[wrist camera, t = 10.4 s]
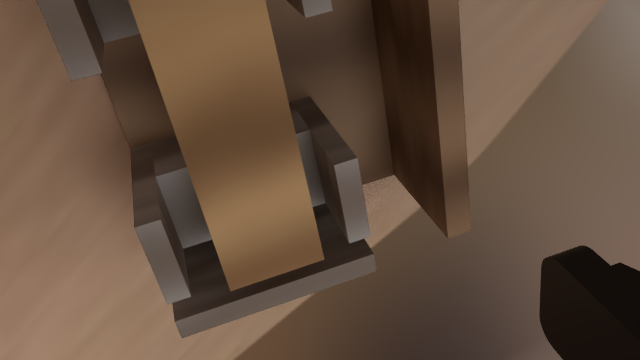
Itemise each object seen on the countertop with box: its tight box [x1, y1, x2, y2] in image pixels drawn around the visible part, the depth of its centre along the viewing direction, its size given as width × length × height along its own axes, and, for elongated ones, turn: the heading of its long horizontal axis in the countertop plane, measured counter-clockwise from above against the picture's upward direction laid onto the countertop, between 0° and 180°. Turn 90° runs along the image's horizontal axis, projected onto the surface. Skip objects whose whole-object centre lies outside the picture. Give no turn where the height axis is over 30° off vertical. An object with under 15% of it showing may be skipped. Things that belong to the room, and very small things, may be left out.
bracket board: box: [37, 0, 471, 338], centre depth 26 cm, size 18×14×8 cm
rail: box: [129, 0, 325, 291], centre depth 23 cm, size 13×4×4 cm, turn 11°
